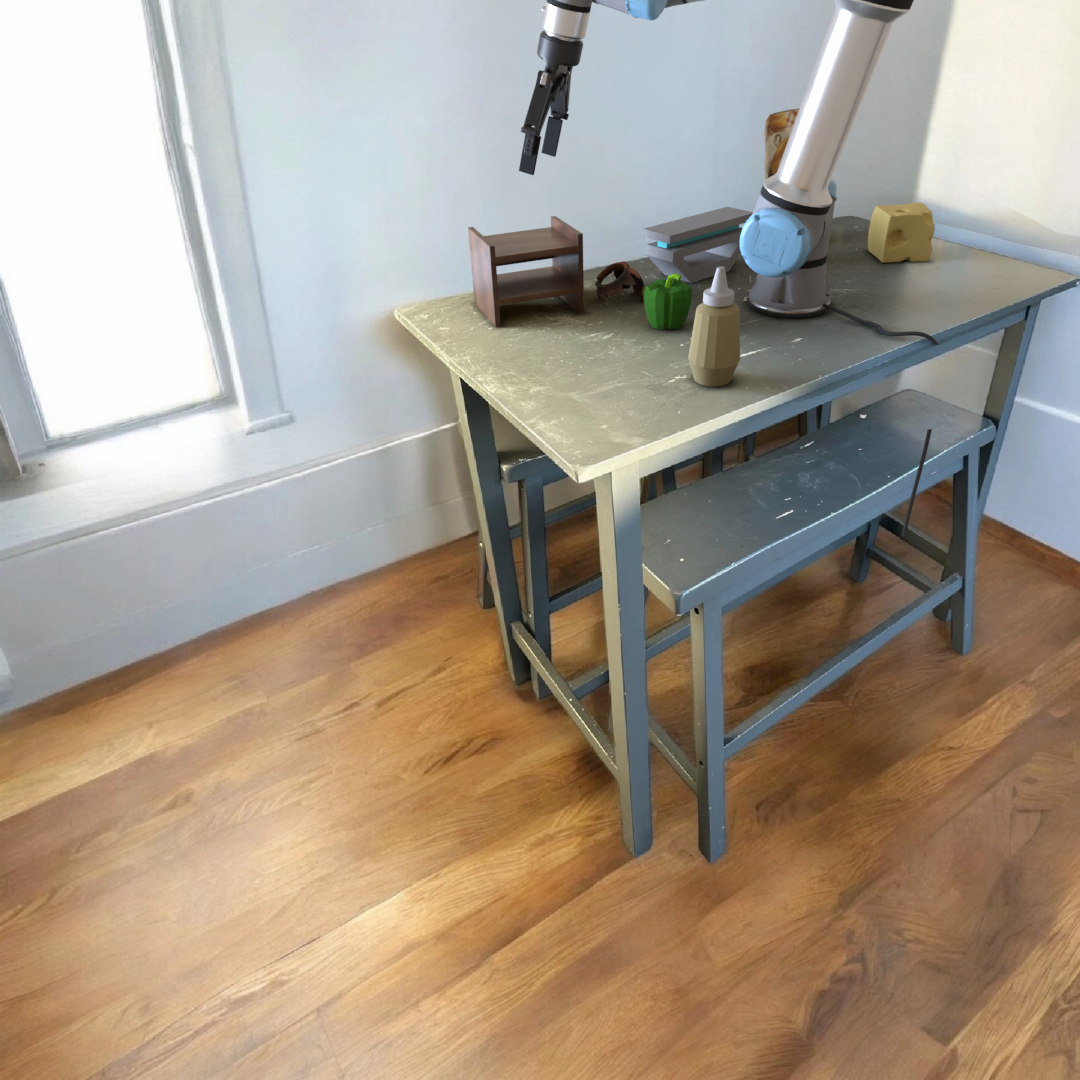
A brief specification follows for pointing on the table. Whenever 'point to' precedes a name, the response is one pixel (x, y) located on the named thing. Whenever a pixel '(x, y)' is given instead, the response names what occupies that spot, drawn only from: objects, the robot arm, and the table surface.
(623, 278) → the pottery mug
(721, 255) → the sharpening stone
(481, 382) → the table surface
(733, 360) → the squeeze bottle
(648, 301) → the bell pepper
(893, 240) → the cheese
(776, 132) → the pancake mix bag
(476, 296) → the shelf
